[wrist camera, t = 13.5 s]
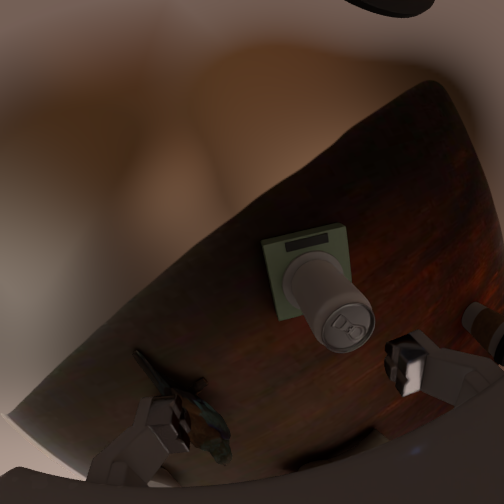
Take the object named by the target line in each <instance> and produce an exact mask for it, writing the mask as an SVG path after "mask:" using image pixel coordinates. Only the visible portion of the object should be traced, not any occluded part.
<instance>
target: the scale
mask: <svg viewBox="0 0 504 504" xmlns="http://www.w3.org/2000/svg"><path fill="white" fill-rule="evenodd" d="M261 245H262V250H263V254H264V259H265V264H266V268H267V273H268V278H269V282H270V287H271V292H272V296H273V301H274V306H275V311H276V314H277V317H278V320H279V321H281V320H285V319H289V318H293V317H297V316H300V315H304V314H303V313H302V311H301V309H300V307H299V305H298V303H297V301H296V299H295V297H294V295H293V292H292V279H293V277H294V274H295V273H296V271H297V270H298V269H299V268H300V267H301V266H302V265H303V264H305V263H307V262H309V261H312V260H324V261H327V262H329V263H331V264H332V265H333V266H334V267H335V268H337V269H338V270H339V271H340V272H341V273H342V274H343V275H344V276H345V277H346V278H347V279H348V280H349V281H350V282H351V283H352V280H351V269H350V259H349V250H348V241H347V233H346V226H344V225H342V224H341V223H334V224H330V225H326V226H321V227H317V228H312V229H308V230H304V231H299V232H295V233H291V234H287V235H282V236H278V237H274V238H269V239H265V240H261Z"/></svg>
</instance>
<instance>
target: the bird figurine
mask: <svg viewBox="0 0 504 504" xmlns="http://www.w3.org/2000/svg"><path fill="white" fill-rule="evenodd" d="M132 355H133V357H134V358H135V360H136V361H137V363H138V364H139V365H140V366H141V368H142V369H143V370H144V371H145V373H146V374H147V375H148V377H149V378H150V379H151V381H152V382H153V383H154V385H155V386H156V387H157V388H158V390H159V392H160V393H161V396H165V395H175V394H177V395H179V396H180V398H181V400H182V406H183V407H185V408H186V409H187V411H188V413H189V415H190V419H191V431H190V432H189V433H188V436H189V437H190V442H191V443H192V444H193V445H194V446H195V447H196V448H200V449H202V450H204V451H209V452H210V453H211V455H212V456H213V458H214V459H215V461H216V462H217V463H218V464H223V465H224V466H226V464H228V463H229V462H230V461H231V459H232V453H231V449H230V446H229V439H230V436H231V435H230V431H229V428H228V427H227V425H226V423H225V421H224V419H223V418H222V416H221V415H220V414H219V413H217V412H216V411H215V410H214V409H213V408H212V407H211V406H210V405H209V404H208V403H206V402H205V401H204V400H202V399H201V398H199V397H198V396H197V395H198V393H200V392H201V391H202V389H203V388H204V387H205V386H207V385H208V382H207V381H206V380H205V379H204V378H202V379H200V380H199V381H197V382H196V383H195V384H193V385H192V386H191V387H190V388H188V389H187V388H185V387H184V386H182V385H180V384H179V383H177V382H175V381H173V380H172V379H170V378H168V377H167V376H165V375H163V374H161V373H160V372H158V371H157V370H156V369H155V368H154V367H153V366H152V365H151V364H150V363H149V362H148V361H147V360H146V358H145V357H144V356H143V355H142V354H141V353H139V352H138V351H135V352H134V353H133V354H132Z"/></svg>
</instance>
